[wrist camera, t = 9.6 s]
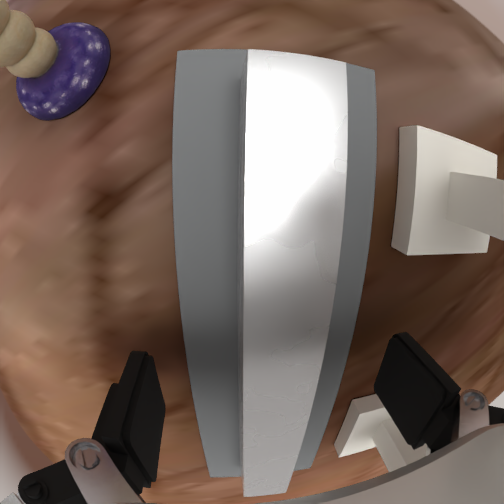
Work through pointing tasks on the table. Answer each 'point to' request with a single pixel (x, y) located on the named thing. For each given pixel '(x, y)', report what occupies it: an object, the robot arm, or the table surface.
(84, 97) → the toy lamp
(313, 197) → the rail
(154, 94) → the table surface
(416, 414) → the robot arm
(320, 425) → the mat
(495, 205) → the rack
